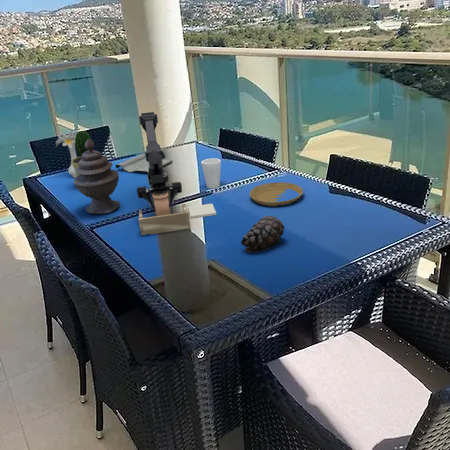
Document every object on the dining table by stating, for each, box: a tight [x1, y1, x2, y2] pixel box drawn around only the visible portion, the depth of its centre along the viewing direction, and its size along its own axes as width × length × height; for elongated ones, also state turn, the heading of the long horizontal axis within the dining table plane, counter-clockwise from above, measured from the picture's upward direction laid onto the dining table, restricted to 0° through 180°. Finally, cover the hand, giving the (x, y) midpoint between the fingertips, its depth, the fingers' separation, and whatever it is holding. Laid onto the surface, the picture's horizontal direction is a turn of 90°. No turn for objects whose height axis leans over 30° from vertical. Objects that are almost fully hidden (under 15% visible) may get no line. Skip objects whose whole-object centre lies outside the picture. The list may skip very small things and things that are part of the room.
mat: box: [115, 153, 173, 174], centre depth 277 cm, size 23×24×5 cm
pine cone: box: [240, 215, 285, 253], centre depth 175 cm, size 10×18×10 cm, turn 139°
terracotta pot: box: [151, 191, 171, 216], centre depth 201 cm, size 7×7×13 cm
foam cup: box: [200, 157, 222, 189], centre depth 236 cm, size 10×9×13 cm
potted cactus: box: [71, 129, 92, 176], centre depth 249 cm, size 15×15×30 cm
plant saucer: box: [249, 181, 304, 207], centre depth 218 cm, size 24×24×3 cm
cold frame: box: [138, 203, 191, 236], centre depth 201 cm, size 18×20×7 cm
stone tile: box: [187, 203, 217, 219], centre depth 210 cm, size 11×11×1 cm
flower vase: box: [55, 130, 88, 178], centre depth 268 cm, size 13×18×25 cm
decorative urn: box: [73, 138, 121, 215], centre depth 215 cm, size 20×20×34 cm
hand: (162, 208), depth 200 cm, fingers open, 7 cm apart
